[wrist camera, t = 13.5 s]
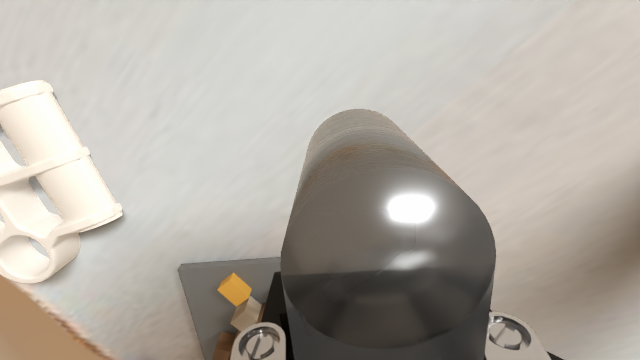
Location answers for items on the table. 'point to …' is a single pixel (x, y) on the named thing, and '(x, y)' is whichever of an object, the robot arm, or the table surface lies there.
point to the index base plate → (223, 293)
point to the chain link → (383, 251)
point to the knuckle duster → (45, 186)
